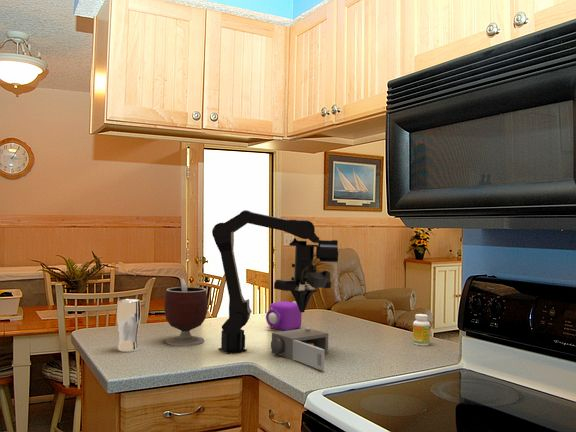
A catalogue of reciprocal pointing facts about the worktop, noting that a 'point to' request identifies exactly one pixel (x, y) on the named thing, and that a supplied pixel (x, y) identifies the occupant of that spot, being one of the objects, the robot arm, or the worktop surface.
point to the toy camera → (284, 315)
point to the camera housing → (284, 340)
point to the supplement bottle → (421, 330)
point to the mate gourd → (185, 312)
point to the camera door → (308, 354)
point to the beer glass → (128, 324)
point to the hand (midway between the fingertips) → (302, 312)
